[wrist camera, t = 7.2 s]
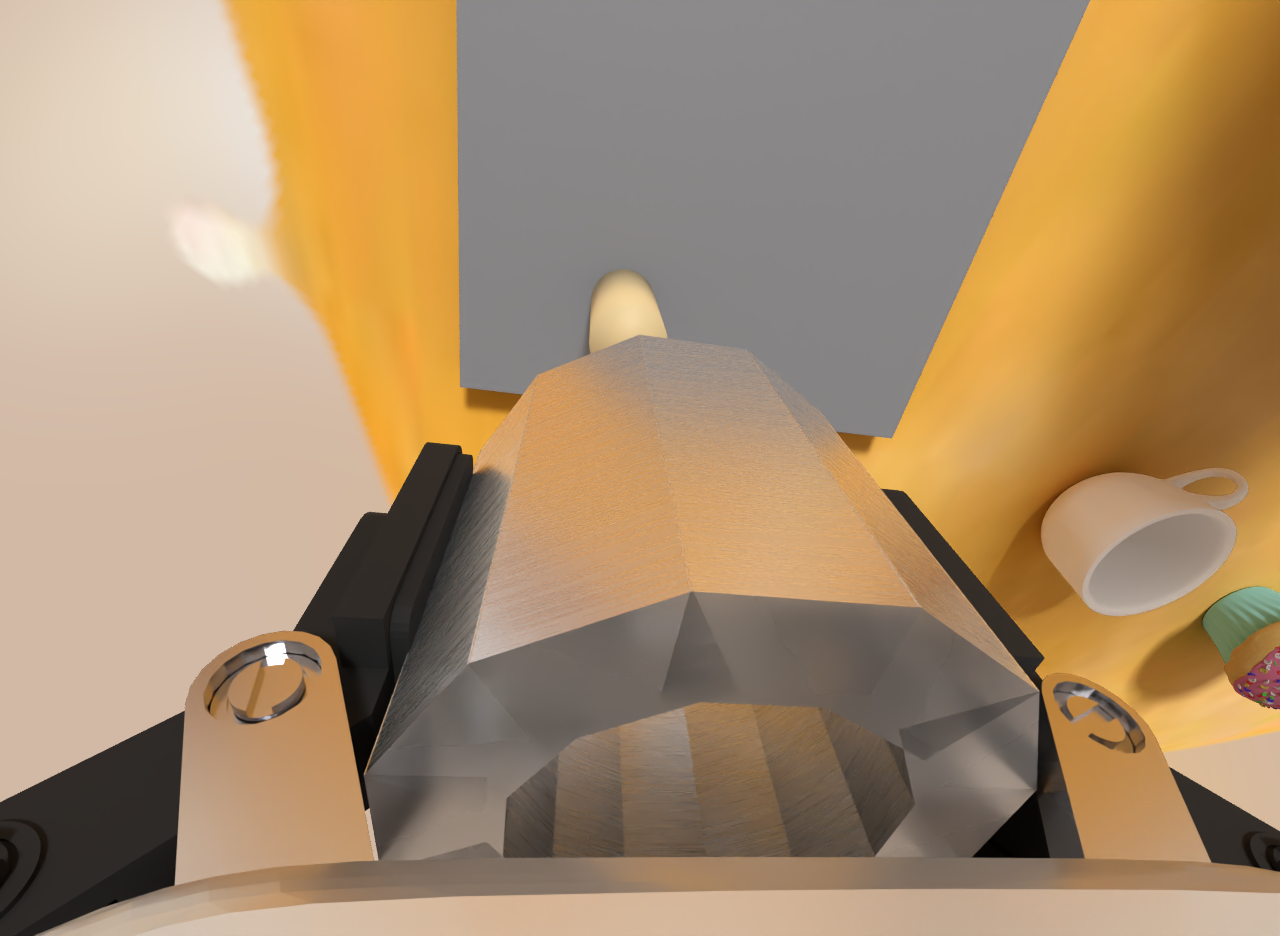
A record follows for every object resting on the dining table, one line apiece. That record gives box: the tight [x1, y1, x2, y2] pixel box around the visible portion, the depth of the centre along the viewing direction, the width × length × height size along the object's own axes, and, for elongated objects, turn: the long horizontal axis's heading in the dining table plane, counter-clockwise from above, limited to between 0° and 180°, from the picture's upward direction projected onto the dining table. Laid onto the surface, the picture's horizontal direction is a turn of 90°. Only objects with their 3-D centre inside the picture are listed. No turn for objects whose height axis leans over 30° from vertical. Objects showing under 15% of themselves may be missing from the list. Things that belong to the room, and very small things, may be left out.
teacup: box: [1041, 468, 1249, 616], centre depth 32 cm, size 10×8×5 cm
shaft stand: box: [457, 0, 1090, 438], centre depth 21 cm, size 22×18×7 cm
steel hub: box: [363, 335, 1040, 861], centre depth 9 cm, size 7×7×6 cm
